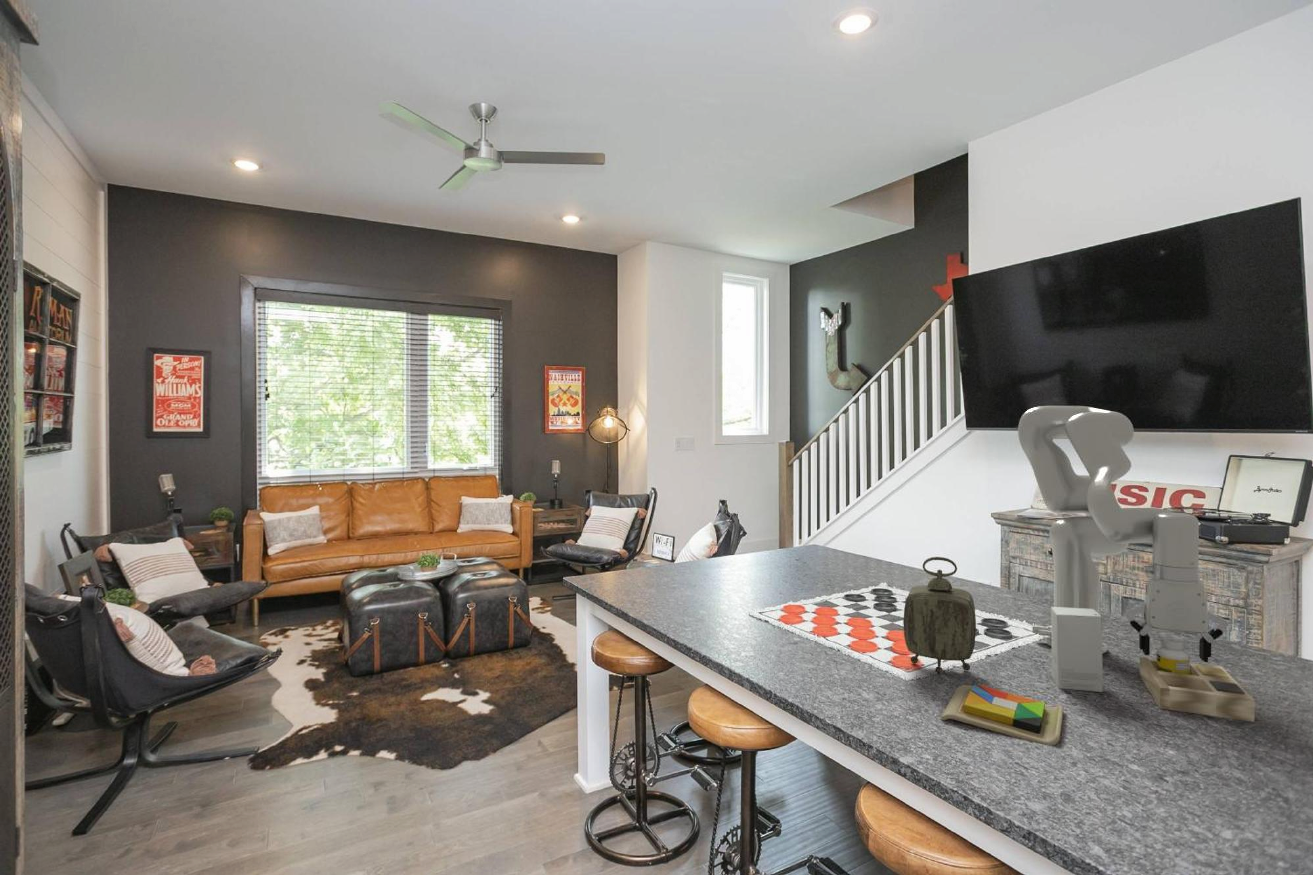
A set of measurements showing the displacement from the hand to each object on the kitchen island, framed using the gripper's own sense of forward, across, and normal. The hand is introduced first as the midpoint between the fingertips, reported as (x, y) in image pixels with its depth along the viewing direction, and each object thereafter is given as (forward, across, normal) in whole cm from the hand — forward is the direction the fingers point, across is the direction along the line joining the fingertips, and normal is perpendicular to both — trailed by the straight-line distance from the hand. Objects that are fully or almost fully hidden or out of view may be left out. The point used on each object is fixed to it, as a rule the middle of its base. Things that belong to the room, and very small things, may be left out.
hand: (1174, 656), depth 140 cm
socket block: (+6, +2, -4) cm, 8 cm away
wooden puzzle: (+7, -32, -30) cm, 45 cm away
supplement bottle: (+6, 0, 0) cm, 7 cm away
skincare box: (+6, -18, -8) cm, 21 cm away
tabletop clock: (+6, -44, -10) cm, 46 cm away
